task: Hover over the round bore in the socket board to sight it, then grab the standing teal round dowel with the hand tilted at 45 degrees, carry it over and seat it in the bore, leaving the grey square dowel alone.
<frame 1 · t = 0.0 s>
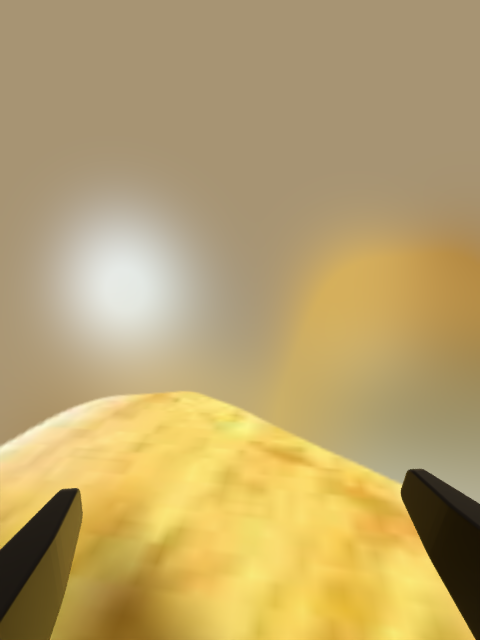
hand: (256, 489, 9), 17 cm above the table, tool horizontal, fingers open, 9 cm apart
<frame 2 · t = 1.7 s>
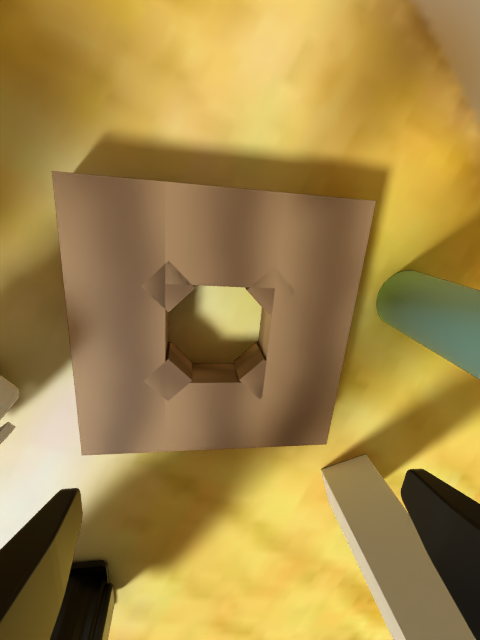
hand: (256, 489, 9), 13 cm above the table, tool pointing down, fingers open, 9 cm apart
socket board: (215, 322, 21), on the table
round dowel: (403, 299, 22), on the table
square dowel: (346, 478, 27), on the table
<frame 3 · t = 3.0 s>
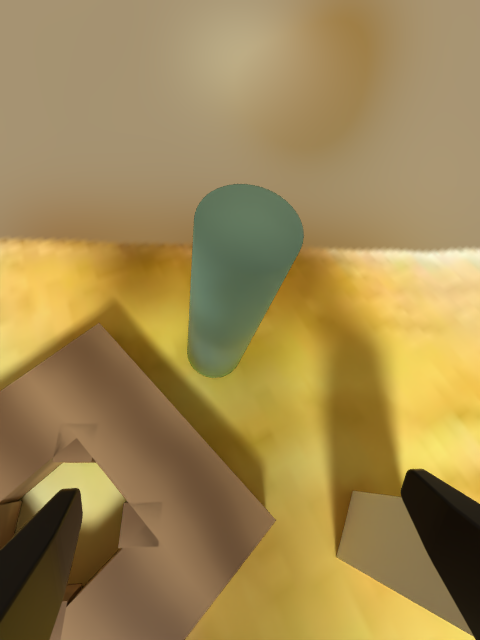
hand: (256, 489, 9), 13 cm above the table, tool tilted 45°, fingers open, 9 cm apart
socket board: (74, 519, 18), on the table
round dowel: (214, 351, 24), on the table
square dowel: (373, 537, 21), on the table
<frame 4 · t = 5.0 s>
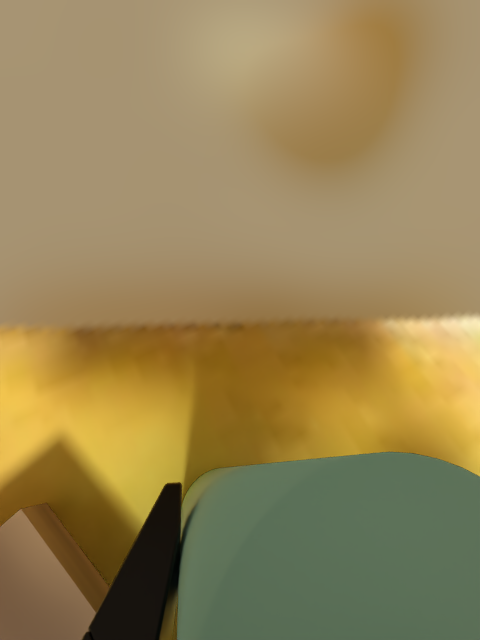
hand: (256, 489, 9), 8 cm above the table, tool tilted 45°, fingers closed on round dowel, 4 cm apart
round dowel: (223, 515, 15), on the table, touching gripper
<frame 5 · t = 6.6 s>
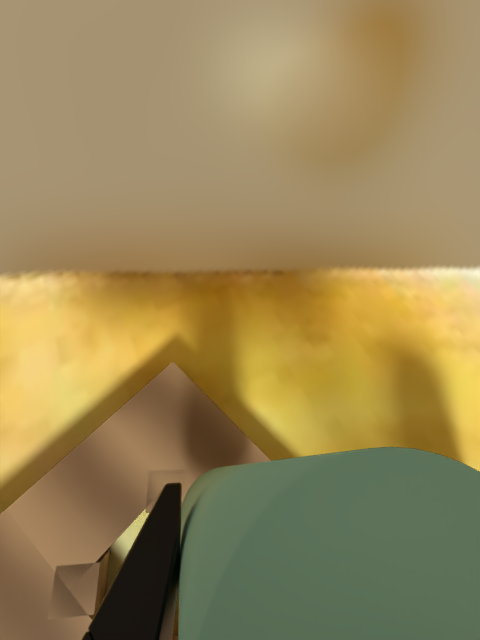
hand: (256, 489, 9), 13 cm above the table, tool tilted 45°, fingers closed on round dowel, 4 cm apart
socket board: (163, 567, 18), on the table
round dowel: (224, 514, 15), point 6 cm above the table, touching gripper
when the fingers open (9 cm above the table, at t = 8.2 s): round dowel drops 2 cm, resting in socket board.
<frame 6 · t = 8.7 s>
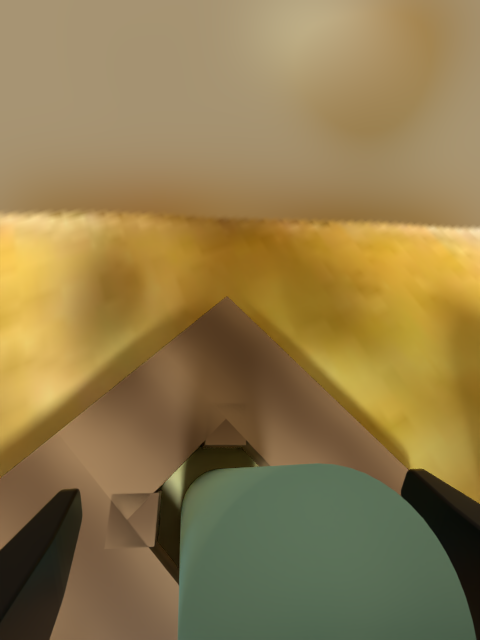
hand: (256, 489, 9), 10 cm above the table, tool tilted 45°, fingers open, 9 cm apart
socket board: (219, 510, 17), on the table
round dowel: (220, 511, 17), resting in socket board
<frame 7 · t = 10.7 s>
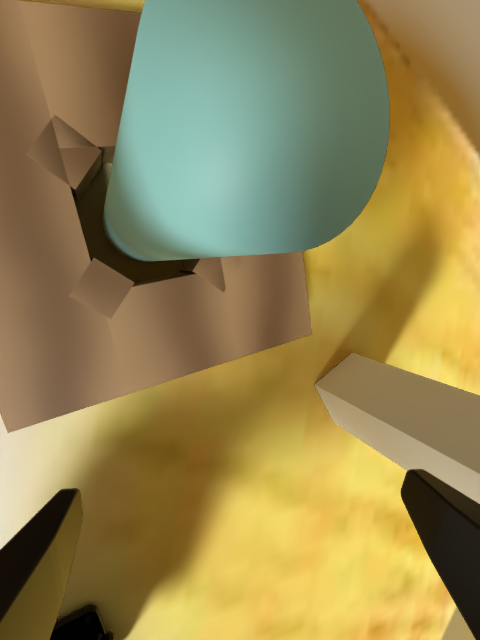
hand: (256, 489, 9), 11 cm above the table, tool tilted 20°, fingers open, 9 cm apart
socket board: (143, 222, 17), on the table
round dowel: (143, 223, 17), resting in socket board
square dowel: (343, 387, 25), on the table
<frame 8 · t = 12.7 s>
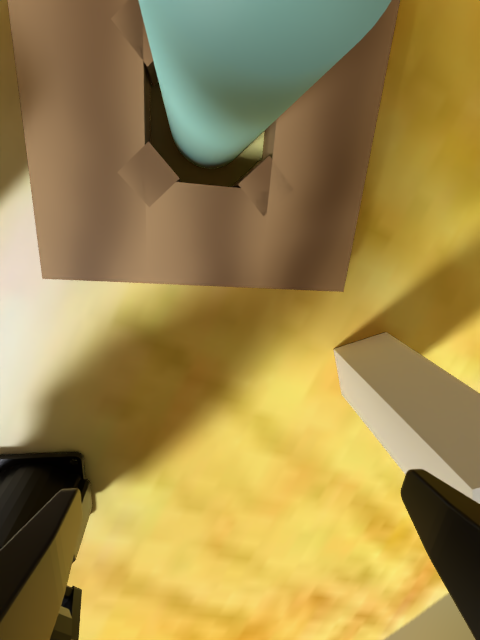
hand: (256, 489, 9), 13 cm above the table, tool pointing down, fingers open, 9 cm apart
socket board: (209, 125, 17), on the table
round dowel: (209, 127, 17), resting in socket board
square dowel: (363, 364, 24), on the table
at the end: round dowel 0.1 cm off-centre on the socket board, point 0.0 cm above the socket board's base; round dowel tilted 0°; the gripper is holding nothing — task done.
